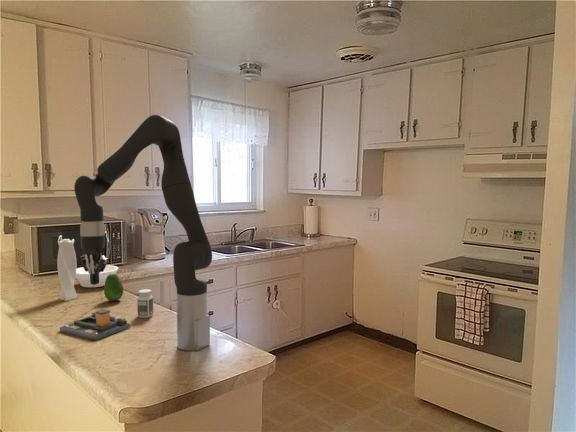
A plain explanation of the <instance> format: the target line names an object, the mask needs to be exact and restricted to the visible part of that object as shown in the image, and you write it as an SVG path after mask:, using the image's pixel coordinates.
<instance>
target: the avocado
mask: <svg viewBox="0 0 576 432" xmlns="http://www.w3.org/2000/svg"><path fill="white" fill-rule="evenodd" d="M103 293H104V296H105V298H106V299H107V301H110V302H117V301H119V300H121V298H122V296H123V295H124V285H123V283H122V281H121V280H120V278H119V276H118V274H117V273H116V274H110V275H108V276H107V278H106V281H105V286H103Z"/></svg>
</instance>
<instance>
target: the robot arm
mask: <svg viewBox="0 0 576 432" xmlns="http://www.w3.org/2000/svg"><path fill="white" fill-rule="evenodd" d="M181 140H182V139H181V134H180V130H179V128H178V126H177V125H176V123H175V122H174V121H172V120H170V119H168V118H166V117H165V116H162V115H160V114H153V115H150V116H148V117H147V118H146V119H145V120H143V122H142V123H141V124H140V125H139V126H138V127H137V128H136V129H135V131H134V132H133V133H132V134H131V135H130V137H128V138H127V140H126V141H125V142H124V143H123V144H122V145H121V147H120V148H118V149H117V151H115V152H114V153H113V154H111V155H110V157H108V158H107V159H105V160H104V161H103V162H102V163H100V165H99V166H98V167H97V169H96V170H97V173H96V174H95V175H81V176H79V177H77V179H76V180H75V182H74V187H73V188H74V190H73V191H74V193H75V197H76V201H77V204H78V206H79V210H80V212H79V213H80V215H79V216H80V226H79V227H80V229H79V232H80V249H82V250H83V252H82V253H83V254H82V255H81V256H79V257H78V260H79V261H80V264H81V265H82V267H83V268H84V270H85V271H86V272H87V271H88V273H89V274H90V282H91V284H92V285H96V284H99V273H100V272H103V271H104V269H105V267H106V265H108V263H109V262H110V259H109V257H106V256H105V253H104V248H105V247H106V230H105V223H104V207H103V205H102V204H101V203H97V201H96V197H100V196H102V195H104V194H105V193H107V192H108V191H109V189H110V188H111V187H112V186H113V185H114V183H115V182H116V181H117V180H118V179H120V178H121V177H122V176H124V175H125V174H126V173H127V172H129V170H131V168H132V167H133V166H134V164H135V161H136V159H137V157H138V156H139V155H140V153H141V152H142V151H143V150H144V149H147V148H148V147H149V146H151V145H153V144H154V145H156V146H157V147H158V148H159V151H160V153H161V158H162V161H163V170H162V175H161V182H160V183H161V184H160V185H161V190H162V195H163V198H164V199H163V200H164V202H165V205H166V207H167V208H168V211H170V213H171V214H172V216H174V218H175V219H176V220H177V222H179V223H180V224H181V226H182V228H184V231H185V233H186V235H187V238H188V241H184V242H183V241H182V242H179V243H177V244H176V245H175V247H174V250H173V254H172V265H173V278H174V279H173V280H174V284H175V288H176V330H177V331H176V333H177V336H176V338H177V339H176V340H177V348H178V350H181V351H186V352H187V351H188V352H189V351H196V352H198V351H199V352H200V350H202V349H204V348H206V347H208V346H209V345H210V344H211V337H210V336H211V330H210V329H211V328H210V326H211V323H210V322H211V320H210V317H211V316H210V315H209V314H208V284H207V282H206V281H204V280H202V279H197V276H196V271H198V270H202V269H205V268H208V267H210V266H211V263H212V261H213V252H212V247H211V244H210V240H209V238H208V236H207V233H206V231H205V227H204V225H203V222H202V218H201V216H200V213H199V210H198V206H197V203H196V202H197V201H196V199H195V194H194V190H193V186H192V182H191V180H190V176H189V172H188V168H187V164H186V161H185V157H184V153H183V147H182V146H183V145H182V141H181ZM87 267H88V268H87Z"/></svg>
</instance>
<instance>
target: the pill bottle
mask: <svg viewBox="0 0 576 432" xmlns="http://www.w3.org/2000/svg"><path fill="white" fill-rule="evenodd" d="M136 299H137V300H136V301H137V302H136V303H137V317H138V318H140V319H141V318H142V319H143V318H144V319H147V318H150V317H152V316H153V315H154V297H153V295H152V290H151V289H149V288H148V289H147V288H146V289H140V290H138V296H137V298H136Z"/></svg>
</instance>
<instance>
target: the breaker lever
mask: <svg viewBox="0 0 576 432" xmlns="http://www.w3.org/2000/svg"><path fill="white" fill-rule="evenodd" d="M95 312H96V325H97V326H101V327H102V326H105V325H108V324H110V315H111V314H110V313H111V310H110V309H106V308H103V309H99V310H97V311H95Z"/></svg>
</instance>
